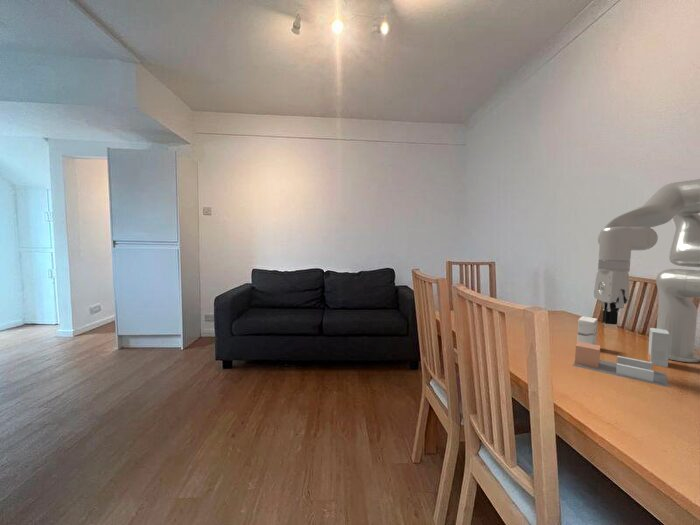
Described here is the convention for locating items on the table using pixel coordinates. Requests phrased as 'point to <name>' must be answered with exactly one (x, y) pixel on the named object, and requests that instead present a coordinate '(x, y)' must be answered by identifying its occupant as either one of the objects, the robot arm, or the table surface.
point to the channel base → (631, 370)
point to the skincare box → (659, 347)
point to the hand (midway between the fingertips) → (609, 323)
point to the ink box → (587, 330)
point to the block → (587, 354)
